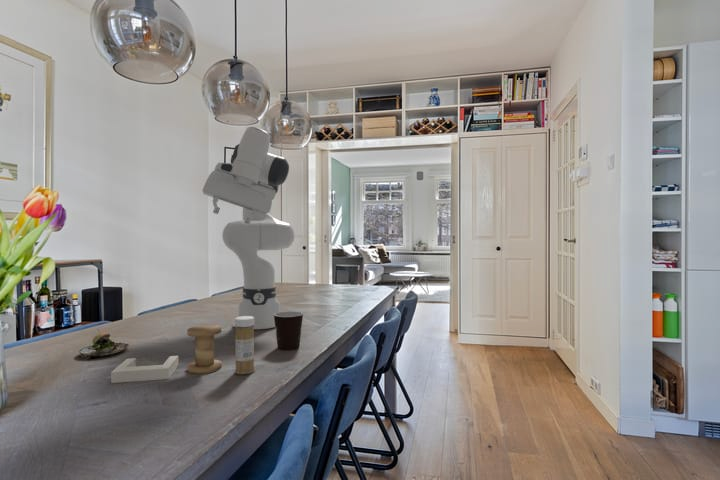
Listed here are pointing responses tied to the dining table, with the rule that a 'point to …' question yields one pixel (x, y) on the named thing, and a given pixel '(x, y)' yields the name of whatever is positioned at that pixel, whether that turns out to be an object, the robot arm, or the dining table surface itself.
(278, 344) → the dark brown cup
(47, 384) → the dining table surface
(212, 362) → the oak spool
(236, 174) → the robot arm
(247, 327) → the sprinkles bottle
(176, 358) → the notched board
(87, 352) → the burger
